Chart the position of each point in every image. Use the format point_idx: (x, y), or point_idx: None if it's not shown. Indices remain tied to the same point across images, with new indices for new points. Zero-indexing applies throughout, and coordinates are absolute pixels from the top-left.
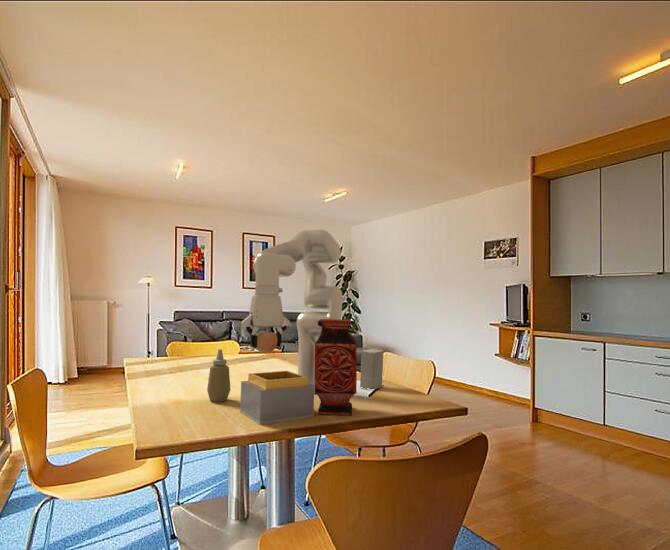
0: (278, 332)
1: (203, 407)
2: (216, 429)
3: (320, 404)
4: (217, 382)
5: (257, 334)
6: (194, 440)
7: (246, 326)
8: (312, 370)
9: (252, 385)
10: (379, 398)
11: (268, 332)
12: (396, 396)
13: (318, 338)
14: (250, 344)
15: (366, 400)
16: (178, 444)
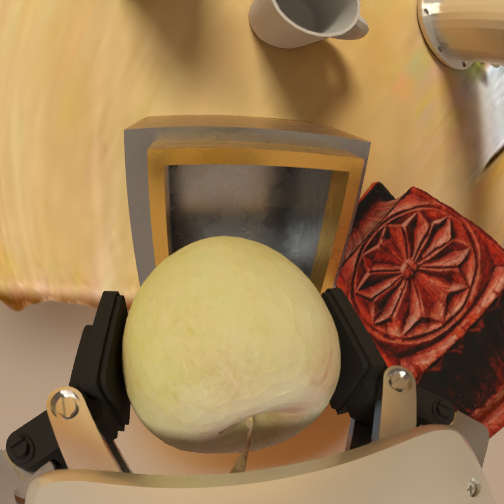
0: (353, 416)
1: (75, 23)
2: (61, 249)
3: (362, 209)
4: None
5: (140, 417)
6: (30, 291)
7: (28, 476)
8: (490, 56)
9: (140, 233)
10: (482, 191)
11: (242, 450)
12: (499, 197)
13: None
14: (89, 329)
15: (464, 189)
16: (13, 296)
